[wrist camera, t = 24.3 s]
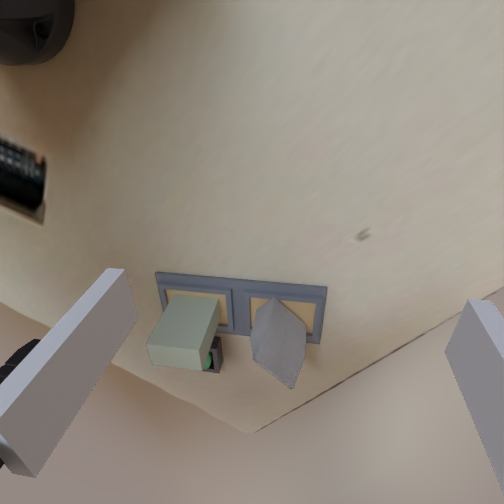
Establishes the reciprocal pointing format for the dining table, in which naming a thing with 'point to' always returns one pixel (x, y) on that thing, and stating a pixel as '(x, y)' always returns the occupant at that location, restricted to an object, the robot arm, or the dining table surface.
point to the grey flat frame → (248, 300)
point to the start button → (208, 361)
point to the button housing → (215, 356)
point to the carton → (184, 332)
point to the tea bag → (278, 341)
